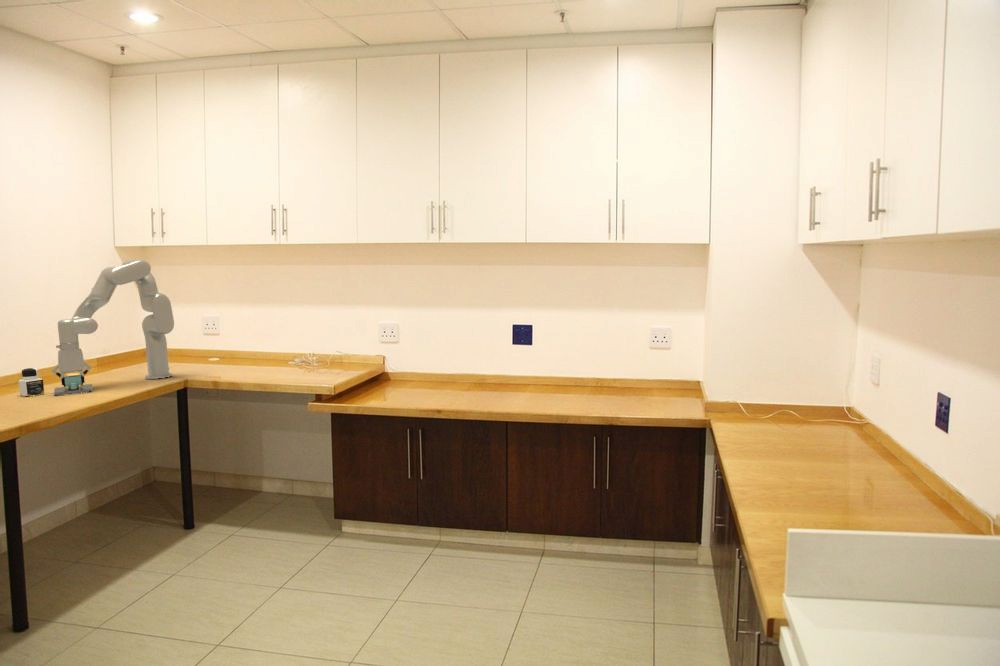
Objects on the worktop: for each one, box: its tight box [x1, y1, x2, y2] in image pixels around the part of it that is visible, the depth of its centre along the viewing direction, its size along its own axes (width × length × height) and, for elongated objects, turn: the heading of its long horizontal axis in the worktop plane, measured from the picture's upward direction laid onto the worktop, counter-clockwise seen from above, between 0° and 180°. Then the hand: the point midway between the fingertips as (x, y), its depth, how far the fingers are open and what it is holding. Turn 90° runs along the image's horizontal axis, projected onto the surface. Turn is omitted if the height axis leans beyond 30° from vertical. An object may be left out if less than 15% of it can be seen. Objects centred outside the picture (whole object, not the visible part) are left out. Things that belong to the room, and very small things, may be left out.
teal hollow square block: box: [64, 374, 82, 390], centre depth 331 cm, size 9×6×5 cm
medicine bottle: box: [18, 367, 45, 397], centre depth 326 cm, size 7×7×12 cm
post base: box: [53, 383, 94, 396], centre depth 332 cm, size 15×15×6 cm
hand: (73, 385), depth 332 cm, fingers closed on teal hollow square block, 6 cm apart
